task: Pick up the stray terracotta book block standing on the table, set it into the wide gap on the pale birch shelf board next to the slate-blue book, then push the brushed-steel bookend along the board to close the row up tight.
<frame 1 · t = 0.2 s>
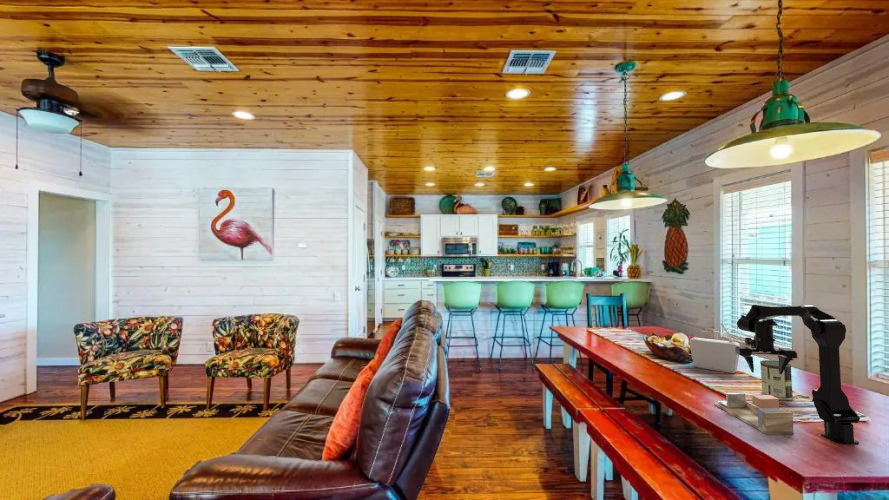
hand: (766, 373, 151), 14 cm above the table, fingers open, 9 cm apart
terracotta book: (765, 412, 146), on the table
shelf board: (750, 418, 141), on the table
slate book: (771, 429, 132), resting on shelf board
bookend: (731, 397, 151), point 4 cm above the table, slide at 0.0 cm
radio: (715, 369, 200), on the table
coffee can: (776, 395, 162), on the table
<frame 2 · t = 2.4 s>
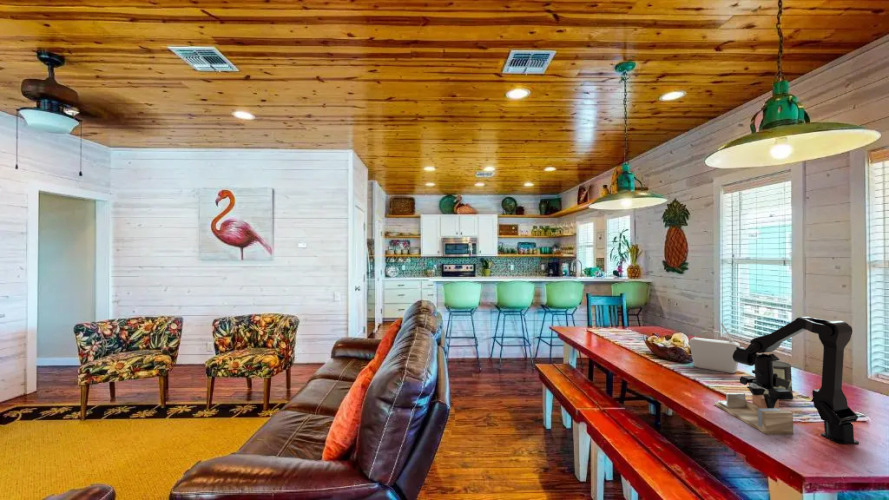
hand: (765, 408, 146), 1 cm above the table, fingers closed on terracotta book, 4 cm apart
terracotta book: (765, 412, 146), on the table, touching gripper
everything else where it was.
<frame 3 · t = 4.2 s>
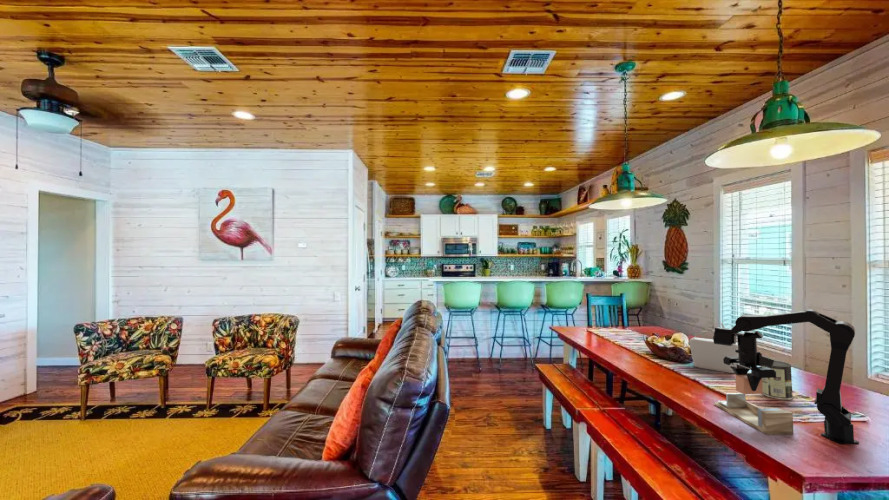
hand: (749, 388, 142), 11 cm above the table, fingers closed on terracotta book, 4 cm apart
terracotta book: (749, 392, 142), point 10 cm above the table, touching gripper
everything else where it was.
when the fingers open (3 cm above the table, at t = 6.0 s): terracotta book stays where it is, resting on shelf board.
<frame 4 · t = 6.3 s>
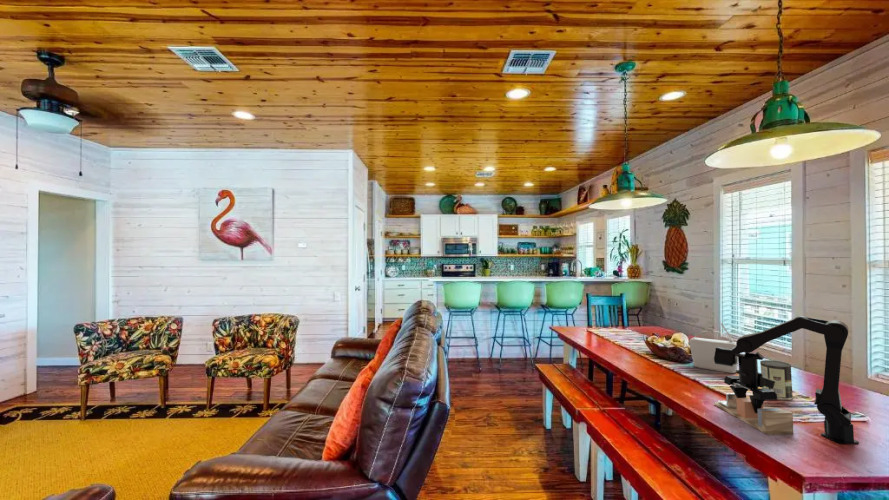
hand: (750, 409, 142), 3 cm above the table, fingers open, 6 cm apart
terracotta book: (750, 415, 142), point 1 cm above the table, touching shelf board
everything else where it was.
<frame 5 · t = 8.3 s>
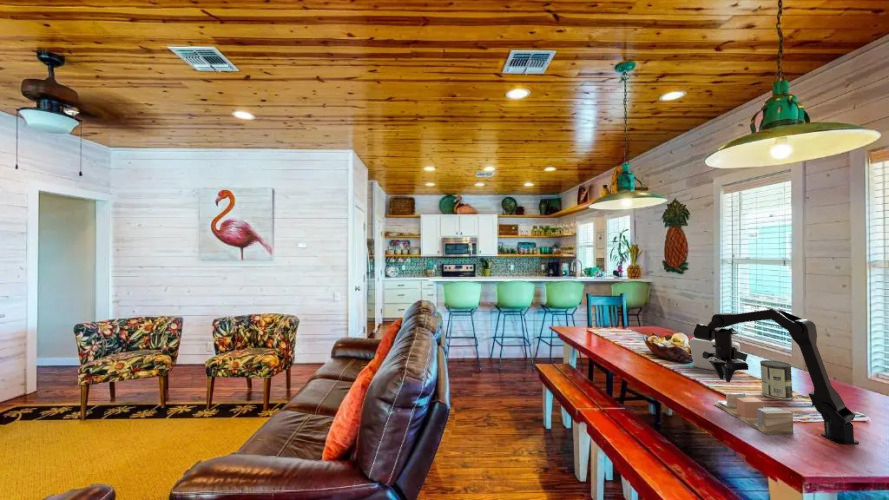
hand: (725, 380, 154), 10 cm above the table, fingers open, 3 cm apart
nothing on the table moved.
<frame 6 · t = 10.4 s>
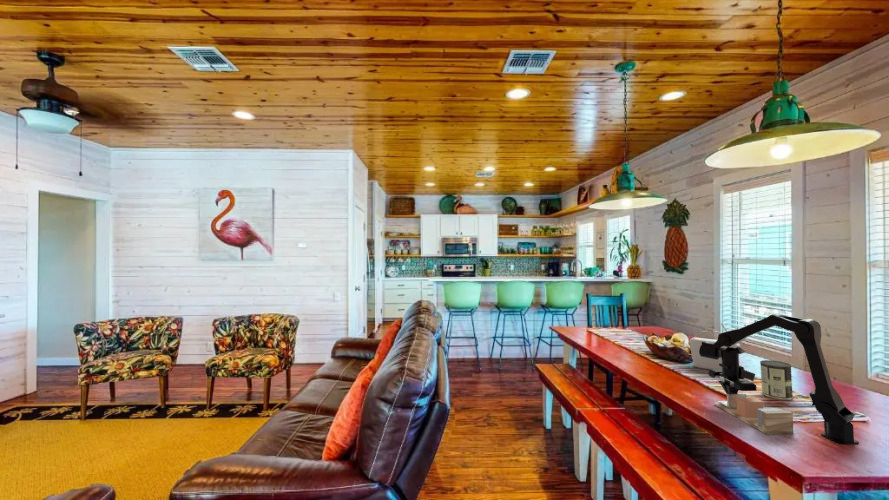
hand: (732, 400, 151), 3 cm above the table, fingers closed
bookend: (732, 398, 151), point 4 cm above the table, slide at 0.4 cm, touching gripper
everything else where it was.
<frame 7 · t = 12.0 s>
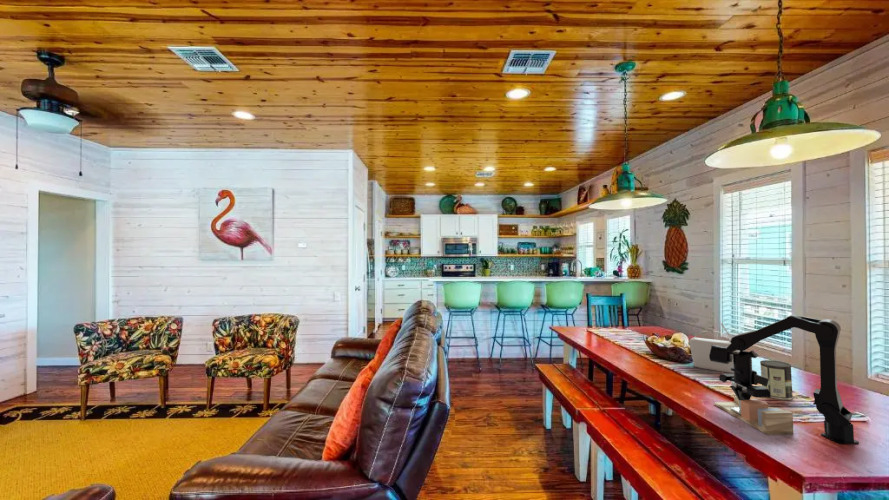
hand: (744, 406, 144), 3 cm above the table, fingers closed
terracotta book: (754, 417, 139), point 1 cm above the table, touching bookend, shelf board
bookend: (744, 404, 144), point 4 cm above the table, slide at 6.7 cm, touching gripper, terracotta book
everything else where it was.
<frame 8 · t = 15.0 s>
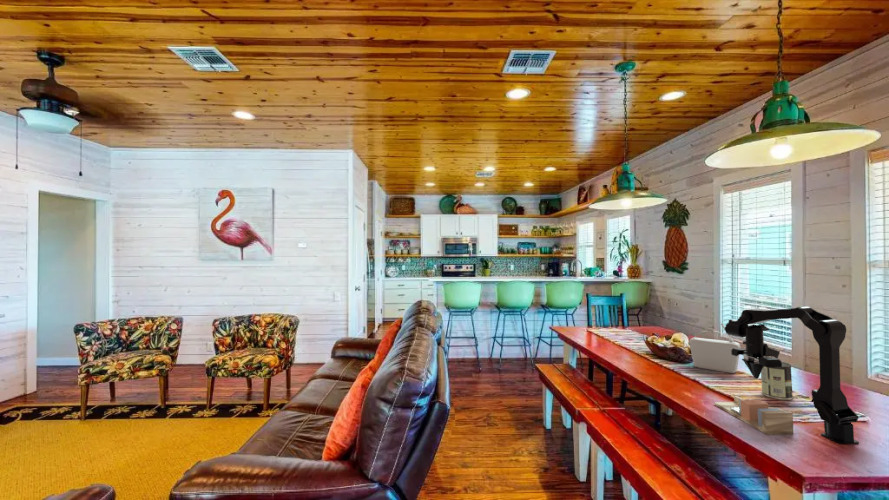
hand: (756, 378, 150), 12 cm above the table, fingers closed
bookend: (744, 404, 144), point 4 cm above the table, slide at 6.7 cm, touching terracotta book
everything else where it was.
at the end: terracotta book inside the target area (2.7 cm from its centre), point 1.0 cm above the table; terracotta book tilted 0°; bookend slide at 6.7 cm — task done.
